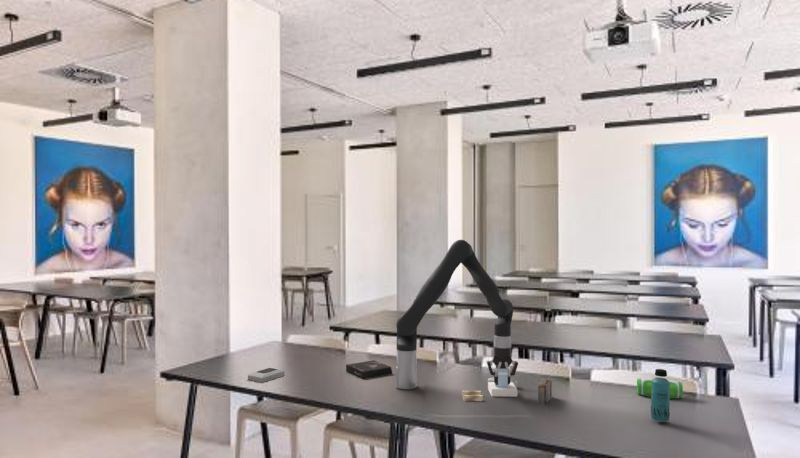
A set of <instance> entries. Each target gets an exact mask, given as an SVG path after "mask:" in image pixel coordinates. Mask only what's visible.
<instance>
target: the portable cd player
mask: <svg viewBox="0 0 800 458" xmlns="http://www.w3.org/2000/svg"><path fill="white" fill-rule="evenodd" d="M345 372H346V373H348V374H350V375H353V376H355V377H357V378H359V379H362V380H366V379H370V378H371V377H372V378H377V377H383V376H388V374H389V375H392V374H393V370H392V366H389V365H387V364H385V363H382V362H380V361H377V360H374V359H373V360H367V361H361V362H355V363H349V364H346V365H345ZM382 375H383V376H382Z"/></svg>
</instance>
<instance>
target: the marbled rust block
mask: <svg viewBox="0 0 800 458" xmlns="http://www.w3.org/2000/svg"><path fill="white" fill-rule="evenodd" d="M552 385H553V383H552V380H549V379H545V380H544V381H542V382H541V383H539V384H538V387H537V403H538V404H539V405H545V404H546V403H547V402H548V401H550V400H551V398H552V397H553V395H552V393H553V390H552V389H553V386H552Z"/></svg>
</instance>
